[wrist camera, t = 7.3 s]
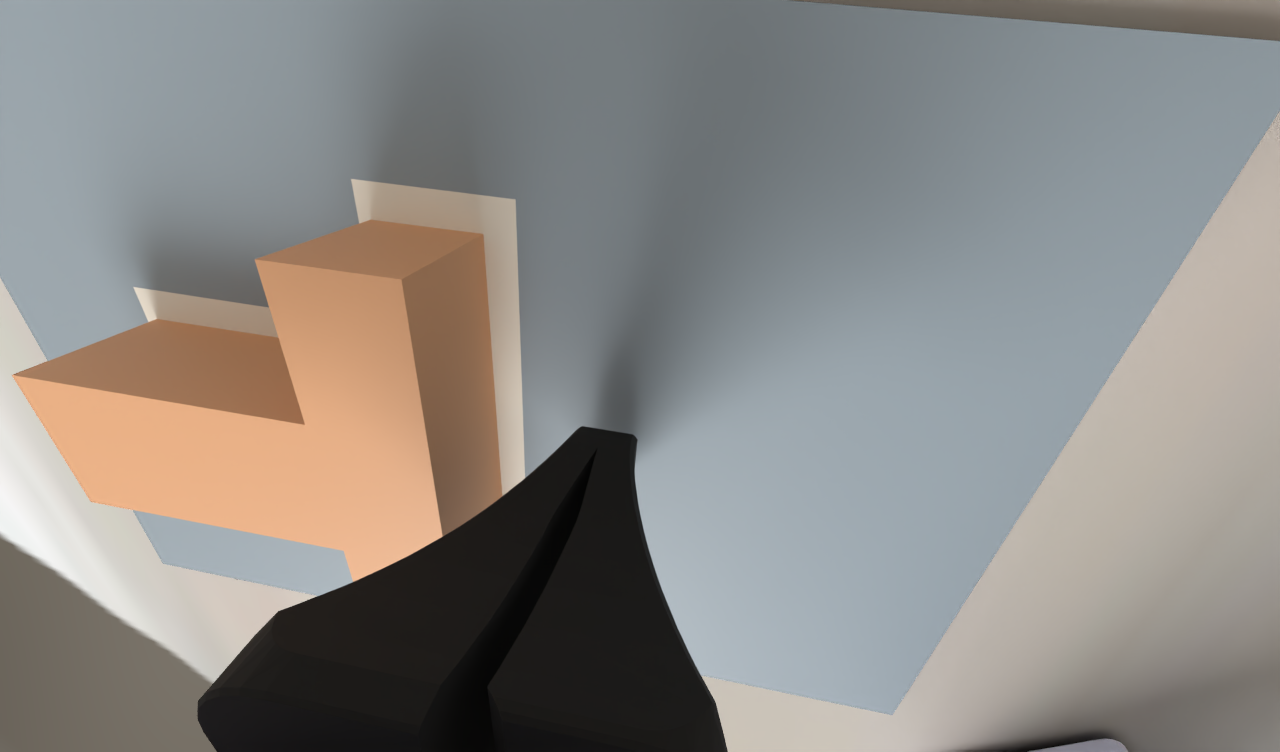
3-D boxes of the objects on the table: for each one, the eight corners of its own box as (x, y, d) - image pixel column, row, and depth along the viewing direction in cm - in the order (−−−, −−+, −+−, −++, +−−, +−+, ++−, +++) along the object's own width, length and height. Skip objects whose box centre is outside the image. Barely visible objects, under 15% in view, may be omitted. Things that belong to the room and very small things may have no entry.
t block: (483, 233, 10) (401, 279, 8) (507, 562, 15) (461, 657, 13) (99, 185, 11) (-90, 212, 9) (239, 511, 16) (146, 590, 14)
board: (1288, 47, 8) (1321, 44, 7) (887, 698, 16) (892, 714, 16) (-164, -75, 10) (-204, -83, 9) (175, 552, 19) (163, 563, 18)
